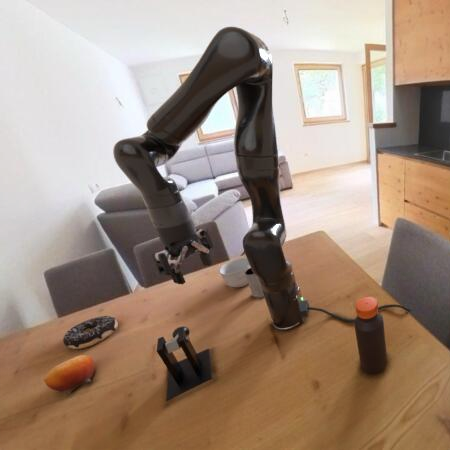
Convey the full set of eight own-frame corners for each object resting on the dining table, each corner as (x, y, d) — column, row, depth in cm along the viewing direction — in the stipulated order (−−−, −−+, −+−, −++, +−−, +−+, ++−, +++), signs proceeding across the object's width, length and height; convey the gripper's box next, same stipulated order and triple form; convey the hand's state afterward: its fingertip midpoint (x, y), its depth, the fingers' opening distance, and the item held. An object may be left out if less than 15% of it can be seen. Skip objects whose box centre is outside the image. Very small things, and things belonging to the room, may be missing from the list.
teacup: (244, 293, 99) (238, 274, 95) (219, 290, 101) (211, 272, 98) (268, 270, 111) (263, 253, 108) (245, 268, 113) (239, 251, 110)
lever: (176, 341, 75) (171, 328, 75) (192, 334, 77) (187, 322, 76) (165, 357, 64) (160, 343, 63) (184, 349, 65) (179, 335, 65)
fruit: (58, 403, 64) (35, 376, 63) (61, 399, 69) (40, 374, 68) (104, 375, 70) (85, 349, 69) (104, 373, 75) (86, 349, 74)
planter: (269, 293, 98) (262, 269, 94) (258, 300, 95) (249, 276, 90) (262, 289, 100) (254, 265, 96) (250, 296, 97) (241, 272, 93)
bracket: (170, 369, 72) (148, 333, 67) (210, 351, 77) (192, 316, 71) (168, 403, 64) (143, 366, 58) (213, 381, 69) (193, 344, 63)
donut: (86, 354, 78) (78, 344, 76) (56, 347, 80) (48, 338, 79) (128, 324, 87) (122, 315, 86) (101, 319, 90) (94, 310, 88)
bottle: (355, 367, 70) (344, 307, 61) (372, 348, 75) (364, 290, 66) (376, 381, 67) (368, 319, 58) (392, 360, 72) (387, 300, 63)
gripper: (157, 234, 62) (184, 292, 69) (208, 209, 74) (226, 260, 81) (130, 232, 63) (159, 288, 70) (184, 208, 75) (204, 258, 83)
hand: (195, 273), depth 76 cm, fingers open, 8 cm apart
